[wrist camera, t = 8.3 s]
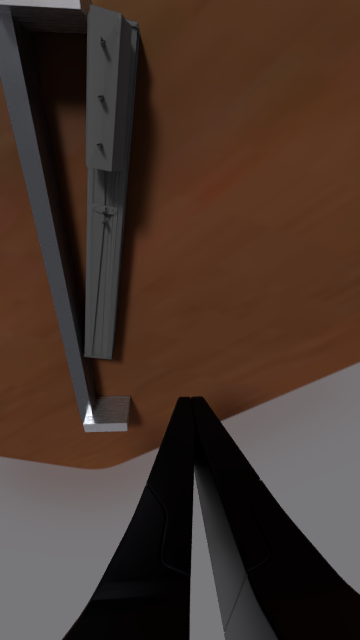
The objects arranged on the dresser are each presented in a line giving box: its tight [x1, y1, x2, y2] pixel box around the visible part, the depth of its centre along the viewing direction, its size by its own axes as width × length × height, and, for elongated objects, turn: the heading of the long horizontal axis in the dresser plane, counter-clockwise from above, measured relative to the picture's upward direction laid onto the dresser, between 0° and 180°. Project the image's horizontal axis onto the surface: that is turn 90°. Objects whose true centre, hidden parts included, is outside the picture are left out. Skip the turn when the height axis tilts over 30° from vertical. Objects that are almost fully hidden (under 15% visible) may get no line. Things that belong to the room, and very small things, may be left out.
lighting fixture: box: [84, 4, 141, 360], centre depth 17 cm, size 19×3×4 cm, turn 170°
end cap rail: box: [0, 0, 131, 432], centre depth 18 cm, size 4×26×3 cm, turn 179°
